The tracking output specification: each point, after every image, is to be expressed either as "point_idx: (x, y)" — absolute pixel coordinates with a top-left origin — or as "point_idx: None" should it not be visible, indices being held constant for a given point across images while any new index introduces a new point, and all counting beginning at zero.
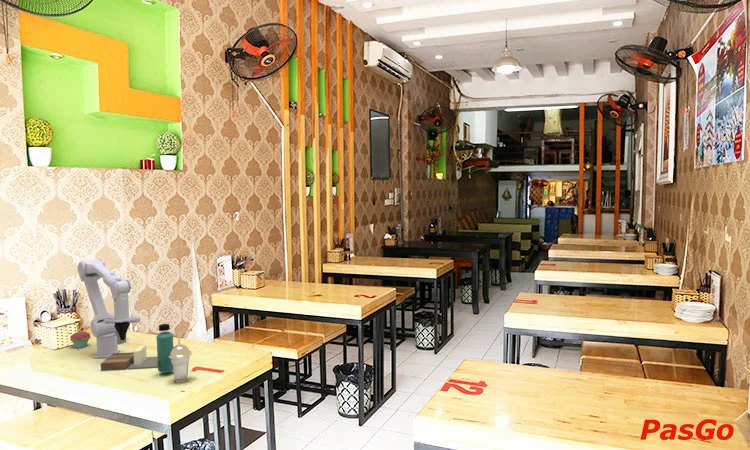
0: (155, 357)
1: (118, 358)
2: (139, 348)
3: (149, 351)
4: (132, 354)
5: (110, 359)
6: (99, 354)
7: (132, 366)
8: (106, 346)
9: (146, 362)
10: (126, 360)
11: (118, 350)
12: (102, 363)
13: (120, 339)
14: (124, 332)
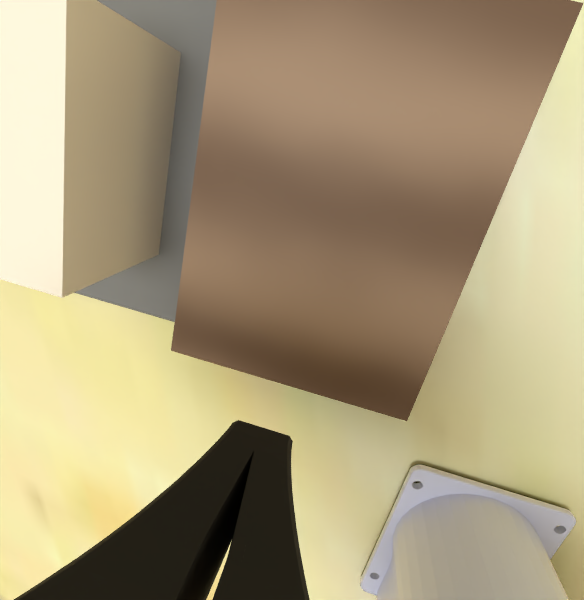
0: None
1: (342, 188)
2: (24, 147)
3: (146, 472)
4: (205, 287)
5: (438, 183)
6: (531, 531)
7: (192, 14)
8: (487, 583)
9: None
10: (235, 40)
11: (370, 582)
12: (553, 11)
13: (291, 448)
14: (119, 528)
